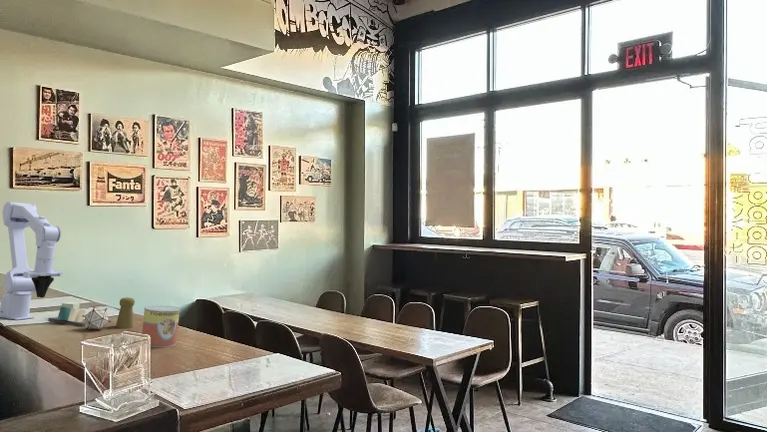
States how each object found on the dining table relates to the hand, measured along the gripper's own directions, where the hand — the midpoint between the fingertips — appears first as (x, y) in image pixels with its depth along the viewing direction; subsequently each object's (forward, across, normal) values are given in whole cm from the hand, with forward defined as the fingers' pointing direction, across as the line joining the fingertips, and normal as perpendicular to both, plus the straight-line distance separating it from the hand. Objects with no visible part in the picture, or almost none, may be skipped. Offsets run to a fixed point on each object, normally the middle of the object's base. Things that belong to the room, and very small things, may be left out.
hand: (40, 297), depth 201 cm
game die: (+10, +7, -19) cm, 23 cm away
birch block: (+6, +7, -4) cm, 10 cm away
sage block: (+10, +17, +3) cm, 20 cm away
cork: (+10, +18, -22) cm, 30 cm away
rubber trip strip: (+10, +9, -4) cm, 14 cm away
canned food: (+10, +3, -49) cm, 50 cm away
